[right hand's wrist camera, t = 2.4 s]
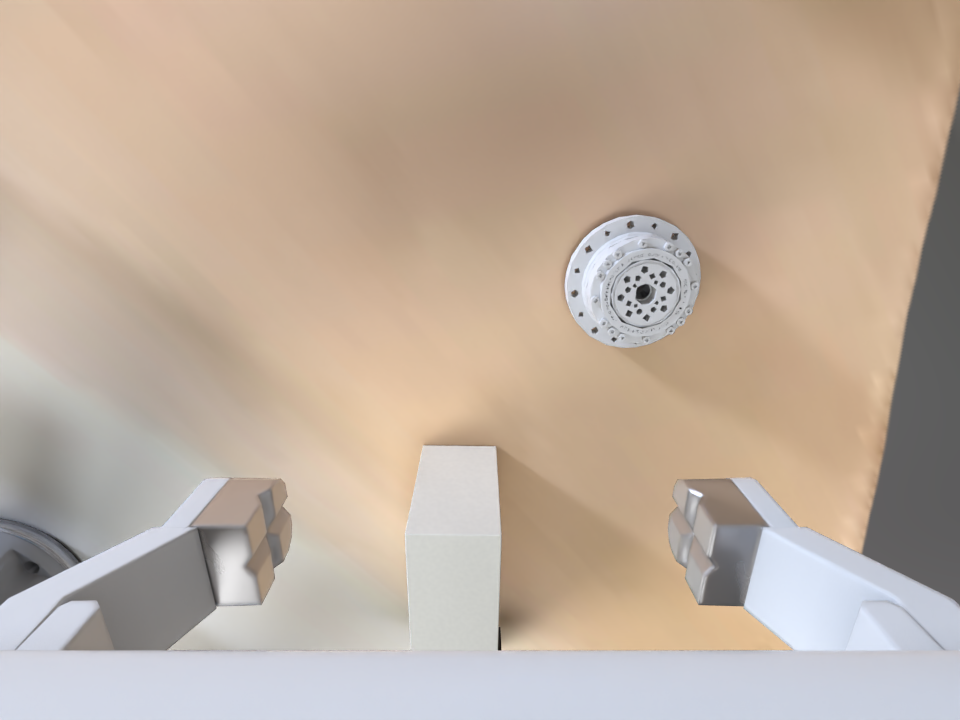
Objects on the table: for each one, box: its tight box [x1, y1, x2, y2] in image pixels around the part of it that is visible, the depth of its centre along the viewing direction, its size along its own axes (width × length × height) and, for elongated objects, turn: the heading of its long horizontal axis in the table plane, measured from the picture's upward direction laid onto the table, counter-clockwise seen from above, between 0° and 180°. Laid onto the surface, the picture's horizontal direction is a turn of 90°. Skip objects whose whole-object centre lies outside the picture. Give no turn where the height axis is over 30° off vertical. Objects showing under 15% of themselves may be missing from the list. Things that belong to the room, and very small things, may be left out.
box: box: [405, 445, 502, 651], centre depth 43 cm, size 24×6×12 cm, turn 179°
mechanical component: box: [565, 215, 701, 348], centre depth 37 cm, size 10×4×10 cm
